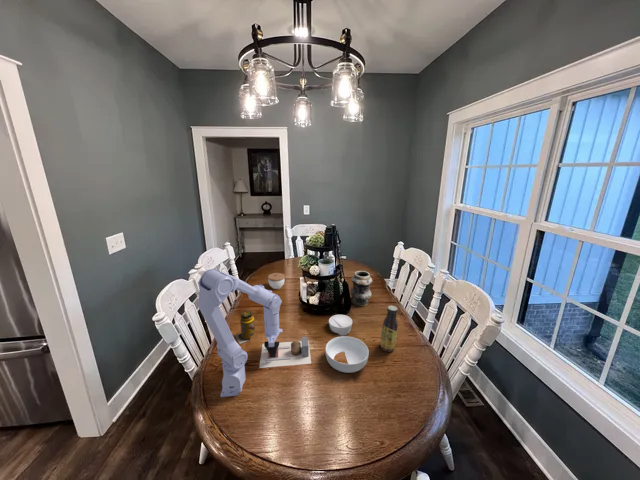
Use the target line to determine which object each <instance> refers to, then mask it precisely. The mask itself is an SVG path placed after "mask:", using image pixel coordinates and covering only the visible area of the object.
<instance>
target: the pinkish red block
mask: <svg viewBox="0 0 640 480" xmlns="http://www.w3.org/2000/svg"><path fill="white" fill-rule="evenodd" d="M275 342H279V338H278V337H277V338H276V340H275ZM275 357H278V348H277V351H276V356H275ZM268 358H270V356H269V353H268ZM271 358H272V357H271Z"/></svg>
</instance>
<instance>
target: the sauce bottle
mask: <svg viewBox="0 0 640 480" xmlns="http://www.w3.org/2000/svg"><path fill="white" fill-rule="evenodd" d="M386 308H387V309H386V310H387V311H386V312H387V313H386V316H385V318H384V320H383V322H382V328H381V334H380V335H381V336H380V348H381V349H382V351H385V352H387V353H390V352H393V351H394V350H395V348H396V341H397V334H398V327H399V321H398V318H397V313H398V310H399V309H398V306H395V305H389V306H387V307H386Z"/></svg>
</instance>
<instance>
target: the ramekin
mask: <svg viewBox="0 0 640 480" xmlns="http://www.w3.org/2000/svg"><path fill="white" fill-rule="evenodd" d="M328 325H329V329H330V330H331V331H332V332H333V333H335V334H338V337H341V336H347V335H348V334H349V333H350V332H351V329H352V325H353V319H352V318H351V317H350V316H348V315H345V314H335V315H332V316H331V317H330V318H329V319H328Z"/></svg>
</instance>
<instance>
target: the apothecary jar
mask: <svg viewBox="0 0 640 480" xmlns="http://www.w3.org/2000/svg"><path fill="white" fill-rule="evenodd" d="M350 281H351V283H353V284H352V288H351V290H350V292H349V293H350V296H351V297H352V300H351V303H352V304H353V305H354V306H358V307H366V306H368V305H369V303H370V302H369V299H370V298H371V297H372V291H371V290H370V287H371V286H370V285H372V283H373V279H372V277H371V275H370V273H369V272H368V271H365V270H357V271H355V272H354V275H352V276H351V280H350Z"/></svg>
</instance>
